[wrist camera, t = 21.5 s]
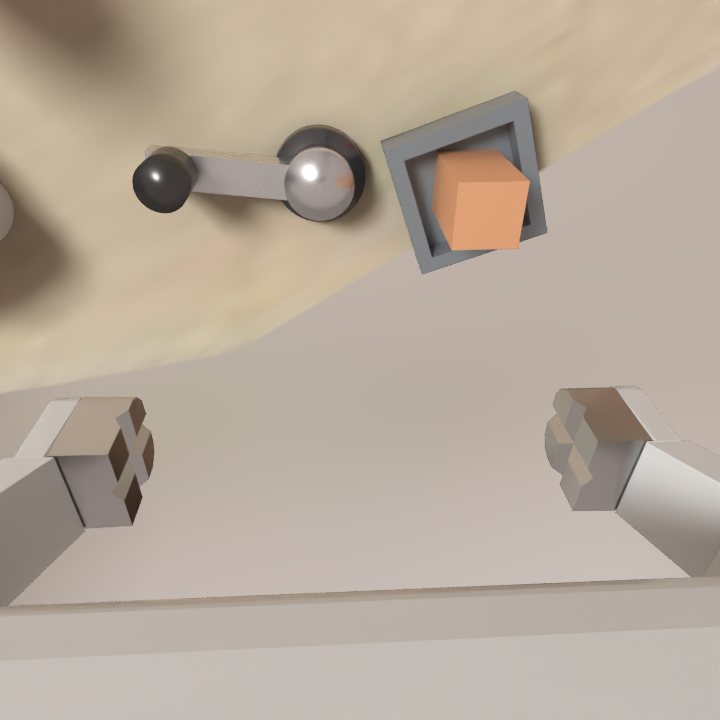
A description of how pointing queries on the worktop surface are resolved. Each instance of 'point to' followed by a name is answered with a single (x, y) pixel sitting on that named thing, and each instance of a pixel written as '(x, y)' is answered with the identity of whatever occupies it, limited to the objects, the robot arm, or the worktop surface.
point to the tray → (461, 132)
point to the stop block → (479, 199)
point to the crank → (247, 178)
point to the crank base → (336, 140)
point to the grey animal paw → (5, 212)
